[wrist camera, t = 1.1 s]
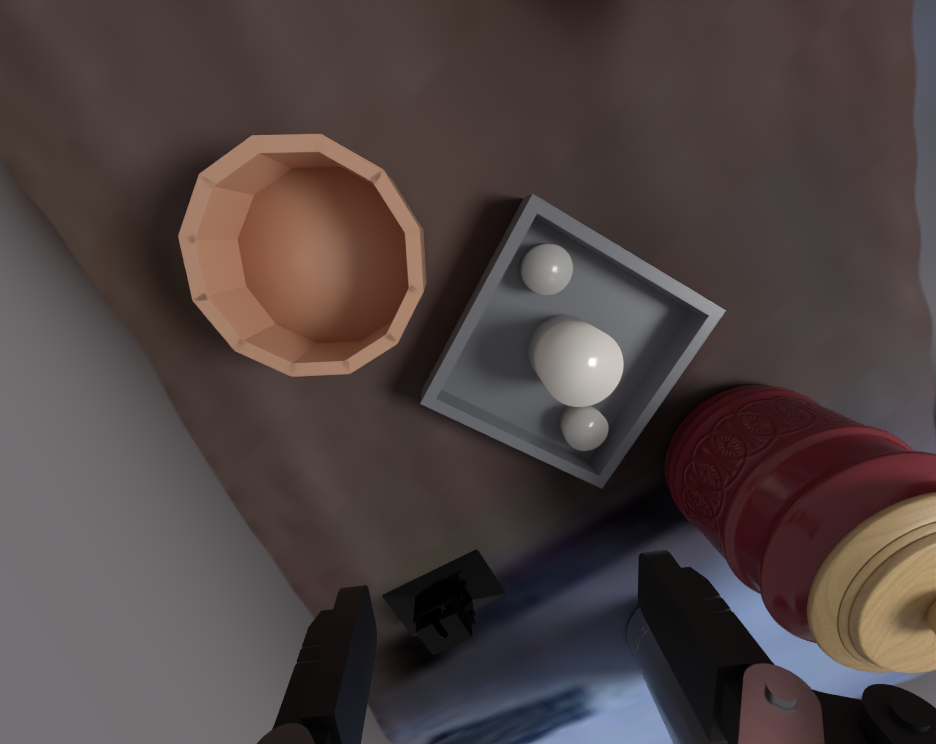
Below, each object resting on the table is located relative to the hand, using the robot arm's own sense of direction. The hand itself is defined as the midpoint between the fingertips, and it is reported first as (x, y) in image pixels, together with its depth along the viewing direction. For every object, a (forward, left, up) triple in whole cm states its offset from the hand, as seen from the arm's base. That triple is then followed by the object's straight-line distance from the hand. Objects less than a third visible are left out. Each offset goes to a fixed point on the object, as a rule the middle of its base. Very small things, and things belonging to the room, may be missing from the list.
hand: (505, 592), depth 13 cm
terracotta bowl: (+12, -3, -20) cm, 24 cm away
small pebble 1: (-1, -9, -20) cm, 22 cm away
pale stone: (-5, -5, -20) cm, 21 cm away
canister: (-23, -4, -21) cm, 31 cm away
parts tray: (-5, -5, -20) cm, 22 cm away
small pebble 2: (-9, -1, -20) cm, 22 cm away
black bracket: (-8, +19, -21) cm, 29 cm away
